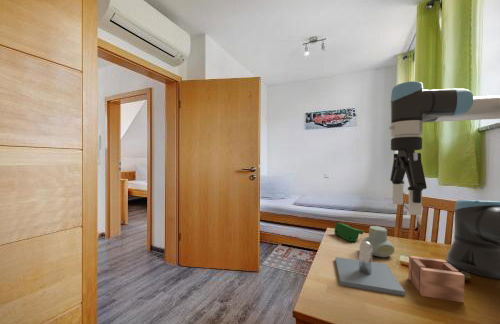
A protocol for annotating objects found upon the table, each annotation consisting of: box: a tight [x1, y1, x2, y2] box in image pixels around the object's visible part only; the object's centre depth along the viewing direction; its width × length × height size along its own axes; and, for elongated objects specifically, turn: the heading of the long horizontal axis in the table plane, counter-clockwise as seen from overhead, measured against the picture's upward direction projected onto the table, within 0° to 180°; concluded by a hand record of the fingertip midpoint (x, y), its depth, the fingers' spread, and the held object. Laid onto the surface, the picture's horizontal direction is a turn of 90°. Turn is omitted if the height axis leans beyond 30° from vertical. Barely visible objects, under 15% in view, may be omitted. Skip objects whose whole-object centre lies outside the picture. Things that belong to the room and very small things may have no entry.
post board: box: [335, 257, 406, 297], centre depth 69 cm, size 16×16×1 cm
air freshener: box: [361, 225, 396, 258], centre depth 84 cm, size 11×8×10 cm
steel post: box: [358, 241, 373, 275], centre depth 68 cm, size 4×4×10 cm
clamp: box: [333, 222, 364, 243], centre depth 101 cm, size 12×6×9 cm, turn 14°
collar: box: [408, 255, 466, 303], centre depth 62 cm, size 9×9×7 cm
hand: (405, 209), depth 65 cm, fingers open, 13 cm apart
